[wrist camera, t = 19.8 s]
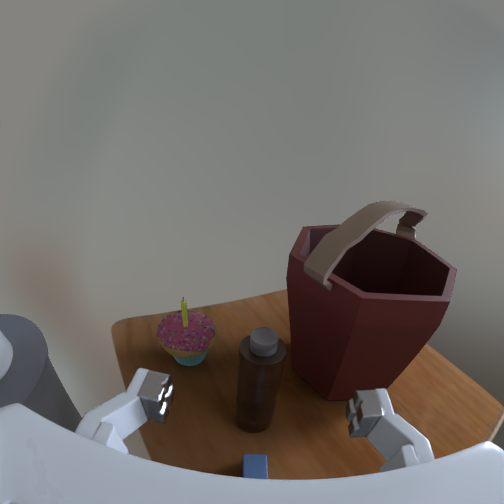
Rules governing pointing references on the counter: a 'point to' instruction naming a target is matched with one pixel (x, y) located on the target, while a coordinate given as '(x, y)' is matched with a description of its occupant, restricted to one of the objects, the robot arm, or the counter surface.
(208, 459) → the counter surface
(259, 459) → the blue stick
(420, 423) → the counter surface
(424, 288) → the bucket
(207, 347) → the cupcake
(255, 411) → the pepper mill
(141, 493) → the robot arm
